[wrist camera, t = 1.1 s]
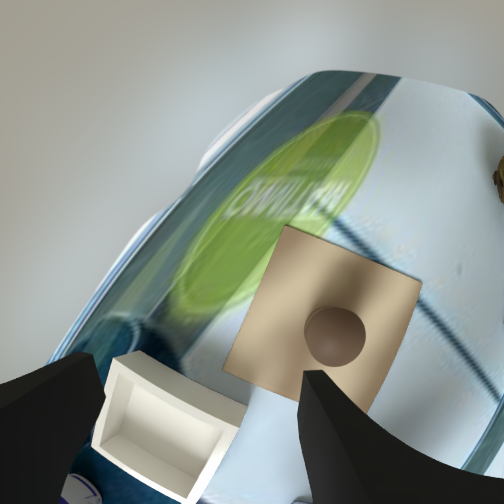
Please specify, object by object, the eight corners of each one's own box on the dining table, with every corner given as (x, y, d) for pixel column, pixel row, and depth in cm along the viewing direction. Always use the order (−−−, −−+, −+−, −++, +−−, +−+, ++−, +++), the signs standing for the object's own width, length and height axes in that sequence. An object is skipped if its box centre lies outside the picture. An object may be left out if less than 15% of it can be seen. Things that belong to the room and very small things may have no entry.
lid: (418, 283, 19) (447, 279, 15) (359, 418, 18) (373, 444, 14) (285, 227, 22) (283, 208, 17) (224, 367, 20) (206, 384, 16)
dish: (248, 406, 19) (239, 428, 15) (205, 483, 18) (192, 507, 14) (139, 350, 21) (113, 358, 17) (114, 431, 20) (91, 446, 16)
